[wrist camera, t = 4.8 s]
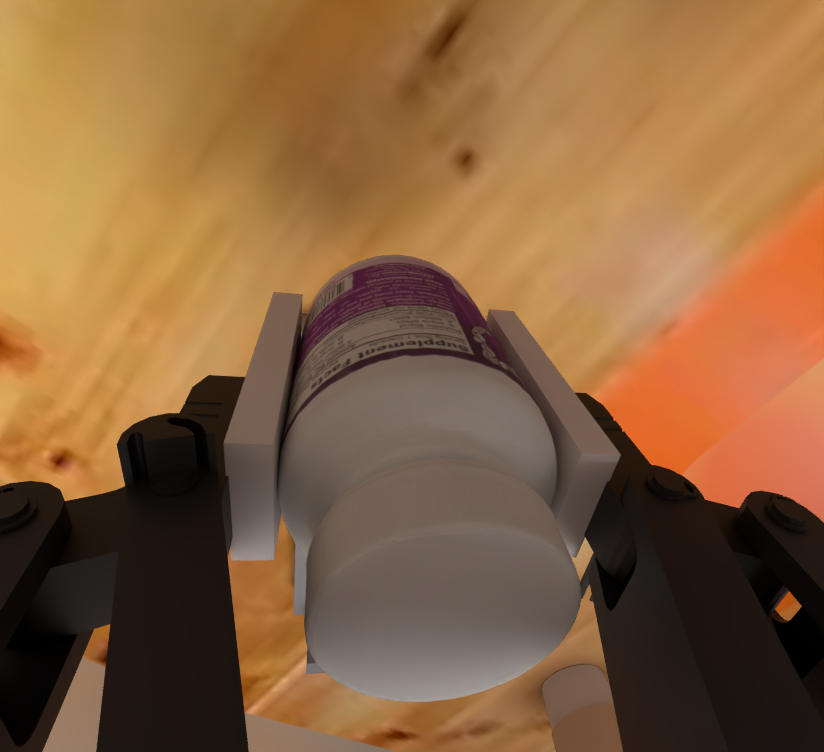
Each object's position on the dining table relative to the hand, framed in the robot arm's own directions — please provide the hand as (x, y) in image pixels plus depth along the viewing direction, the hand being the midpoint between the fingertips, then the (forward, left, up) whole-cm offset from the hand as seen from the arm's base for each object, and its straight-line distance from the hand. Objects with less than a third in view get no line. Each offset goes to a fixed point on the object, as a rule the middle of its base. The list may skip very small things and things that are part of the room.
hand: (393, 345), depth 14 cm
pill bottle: (0, 0, -1) cm, 1 cm away
